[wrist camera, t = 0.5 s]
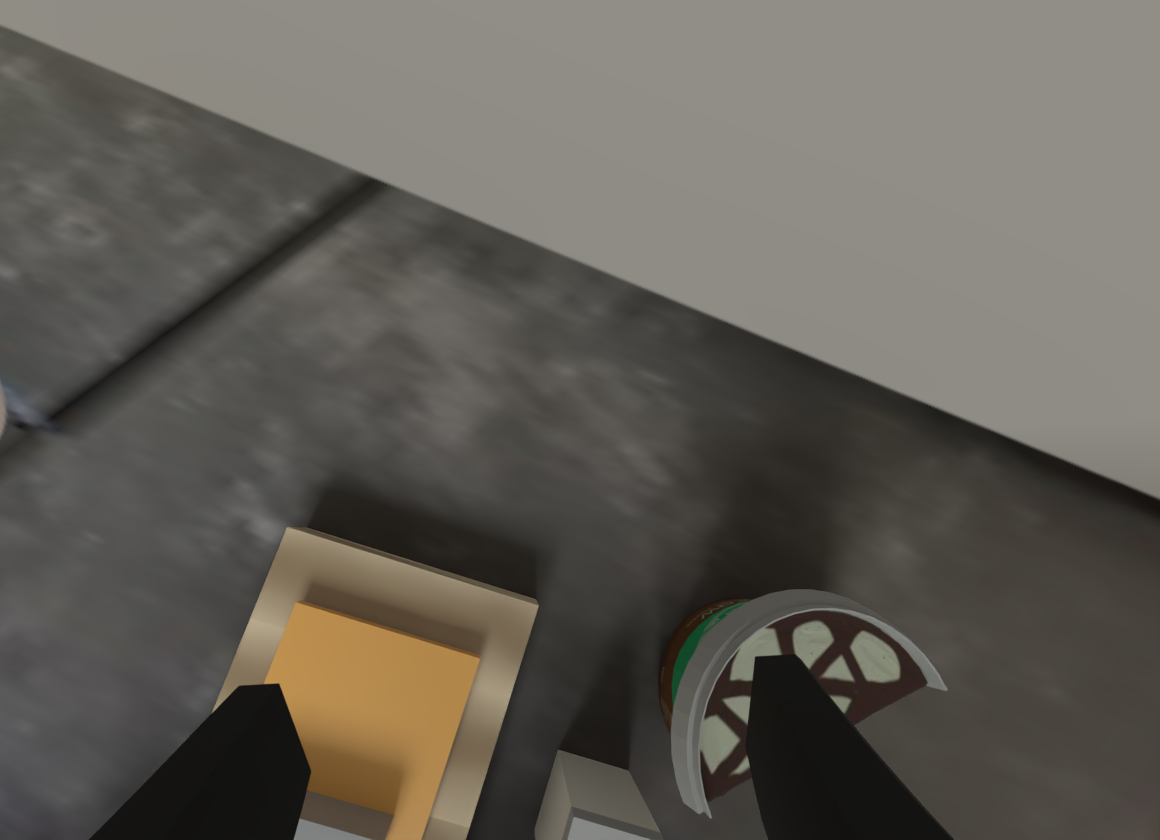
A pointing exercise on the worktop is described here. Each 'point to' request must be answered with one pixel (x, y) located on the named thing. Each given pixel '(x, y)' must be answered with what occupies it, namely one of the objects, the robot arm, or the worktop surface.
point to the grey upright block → (592, 803)
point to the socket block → (412, 606)
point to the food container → (762, 628)
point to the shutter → (369, 721)
